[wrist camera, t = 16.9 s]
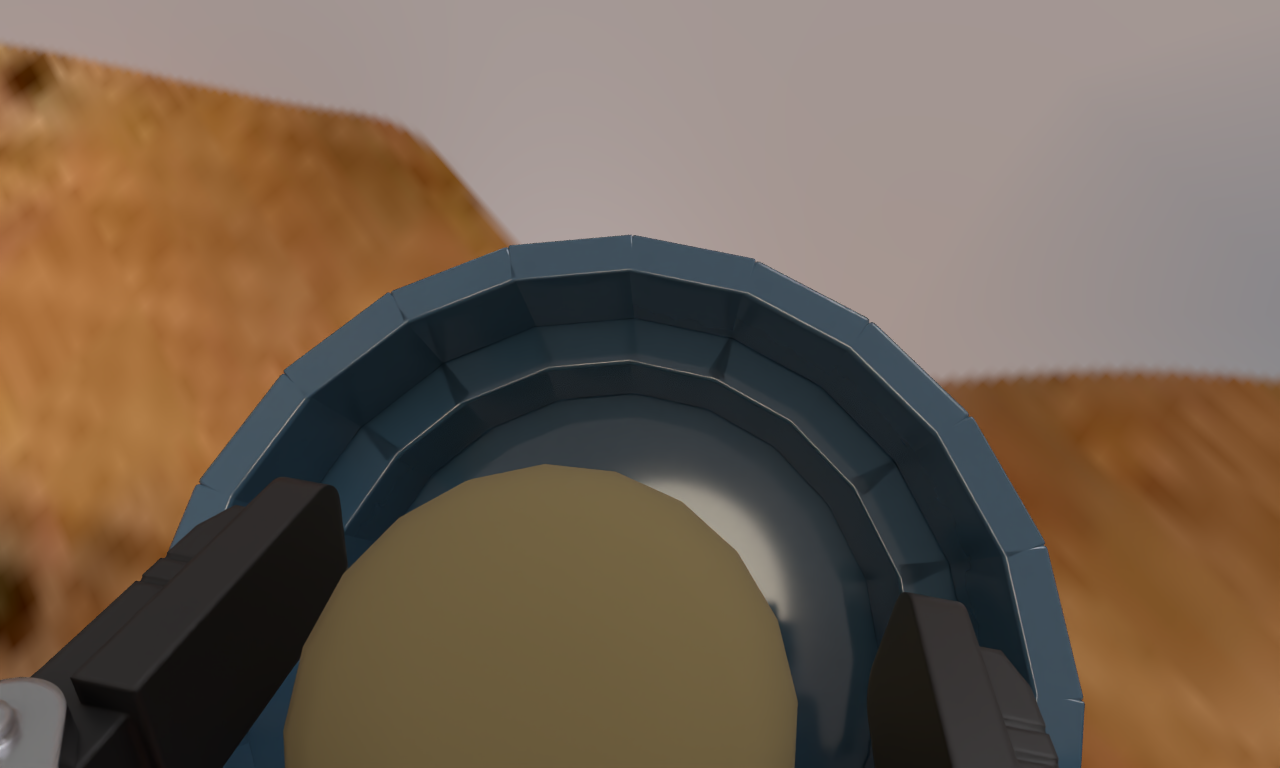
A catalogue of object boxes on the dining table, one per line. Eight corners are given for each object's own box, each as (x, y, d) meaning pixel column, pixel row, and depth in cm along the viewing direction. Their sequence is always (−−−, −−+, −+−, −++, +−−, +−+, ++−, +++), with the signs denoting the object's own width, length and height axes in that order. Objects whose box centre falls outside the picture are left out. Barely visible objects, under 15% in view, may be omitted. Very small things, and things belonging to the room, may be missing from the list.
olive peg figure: (791, 613, 17) (1009, 631, 6) (648, 862, 15) (614, 1429, 5) (577, 471, 18) (454, 281, 7) (426, 692, 16) (6, 848, 6)
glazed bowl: (770, 253, 20) (807, 129, 15) (1083, 848, 16) (1295, 971, 10) (224, 471, 19) (53, 419, 13) (400, 1187, 14) (249, 1525, 9)
